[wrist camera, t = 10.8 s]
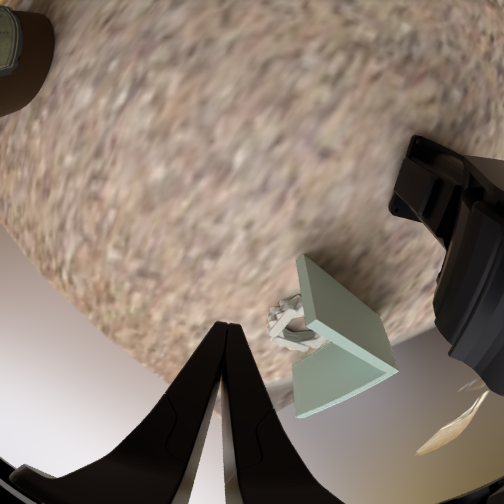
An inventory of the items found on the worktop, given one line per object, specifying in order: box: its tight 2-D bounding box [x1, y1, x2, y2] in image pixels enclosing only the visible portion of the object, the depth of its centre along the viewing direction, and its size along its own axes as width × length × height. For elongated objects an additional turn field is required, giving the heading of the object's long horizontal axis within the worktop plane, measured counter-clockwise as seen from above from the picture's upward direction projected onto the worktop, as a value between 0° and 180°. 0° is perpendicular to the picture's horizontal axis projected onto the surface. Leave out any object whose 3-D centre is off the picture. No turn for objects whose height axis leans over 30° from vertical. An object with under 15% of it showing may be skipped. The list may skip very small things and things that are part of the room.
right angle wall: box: [267, 254, 399, 419], centre depth 24 cm, size 12×12×8 cm
